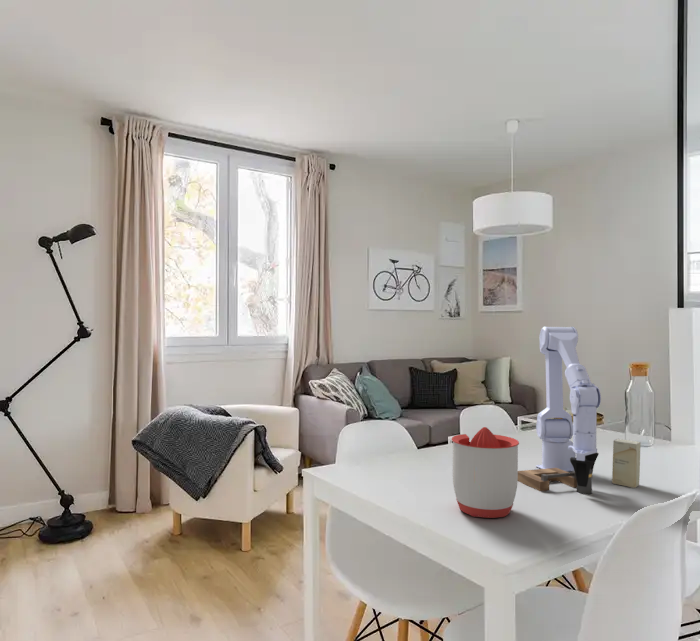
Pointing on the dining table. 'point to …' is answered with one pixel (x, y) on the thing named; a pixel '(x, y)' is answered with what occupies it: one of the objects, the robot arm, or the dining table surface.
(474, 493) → the citrus juicer
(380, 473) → the dining table surface
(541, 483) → the wooden bracket with rod
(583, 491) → the grey cylinder with band
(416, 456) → the dining table surface
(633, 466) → the skincare box
